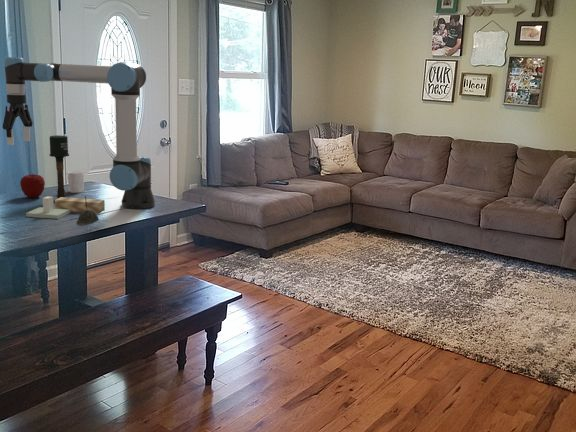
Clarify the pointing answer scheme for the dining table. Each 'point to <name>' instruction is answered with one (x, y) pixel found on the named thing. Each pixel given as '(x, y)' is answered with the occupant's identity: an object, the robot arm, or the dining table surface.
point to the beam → (80, 204)
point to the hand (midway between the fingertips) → (19, 143)
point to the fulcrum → (48, 210)
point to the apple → (32, 185)
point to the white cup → (75, 181)
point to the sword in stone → (87, 216)
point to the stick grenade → (59, 159)
